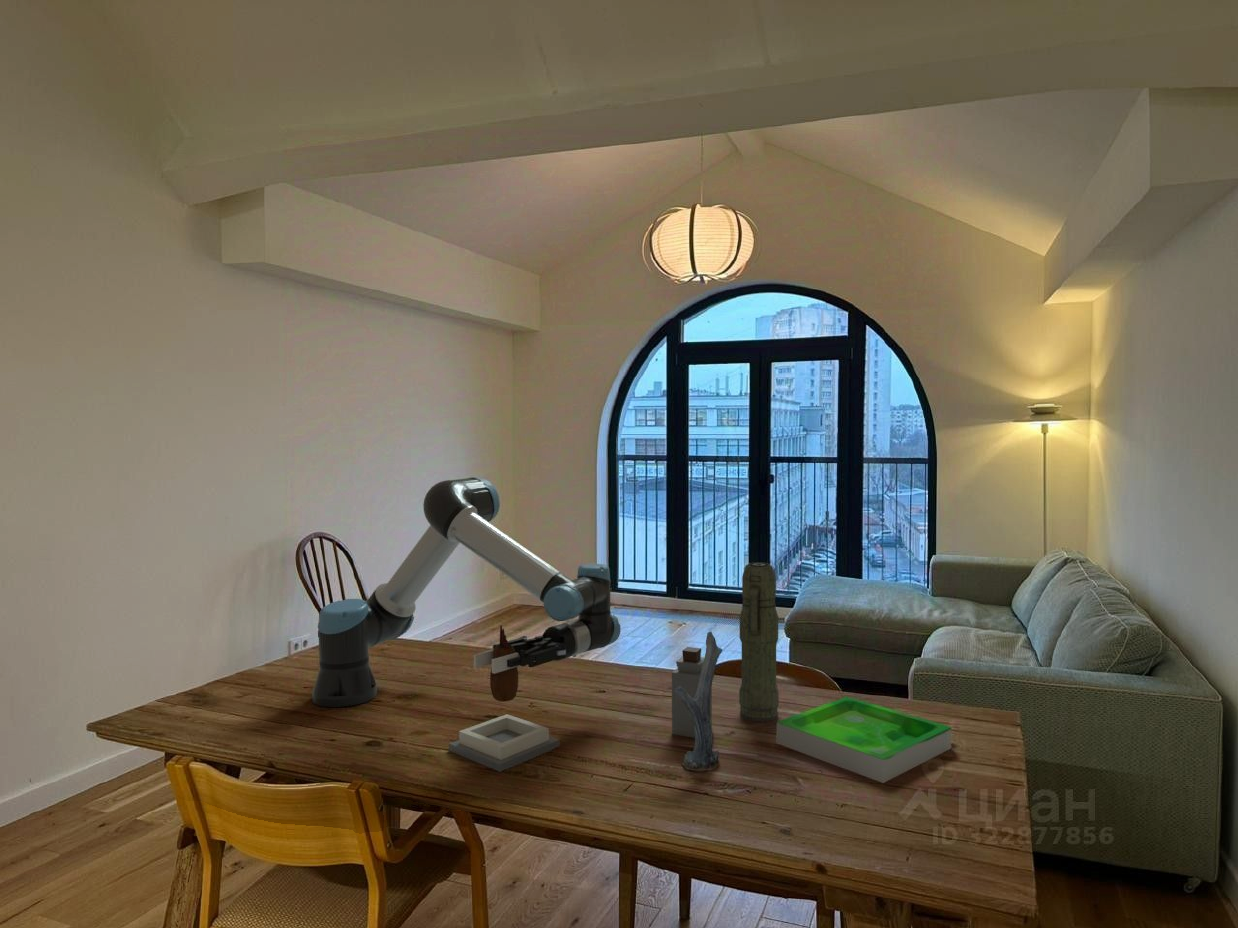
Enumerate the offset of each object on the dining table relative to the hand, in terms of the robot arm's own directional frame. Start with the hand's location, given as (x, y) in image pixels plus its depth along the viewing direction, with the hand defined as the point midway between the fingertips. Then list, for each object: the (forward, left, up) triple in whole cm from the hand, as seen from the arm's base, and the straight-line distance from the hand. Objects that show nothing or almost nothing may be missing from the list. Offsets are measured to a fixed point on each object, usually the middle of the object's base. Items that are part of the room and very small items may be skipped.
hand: (483, 663), depth 160 cm
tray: (+56, +54, -20) cm, 80 cm away
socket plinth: (0, +5, -19) cm, 20 cm away
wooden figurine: (0, +5, -9) cm, 10 cm away
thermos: (+30, +56, -19) cm, 66 cm away
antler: (+35, +26, -19) cm, 48 cm away
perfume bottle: (+24, +38, -19) cm, 49 cm away
